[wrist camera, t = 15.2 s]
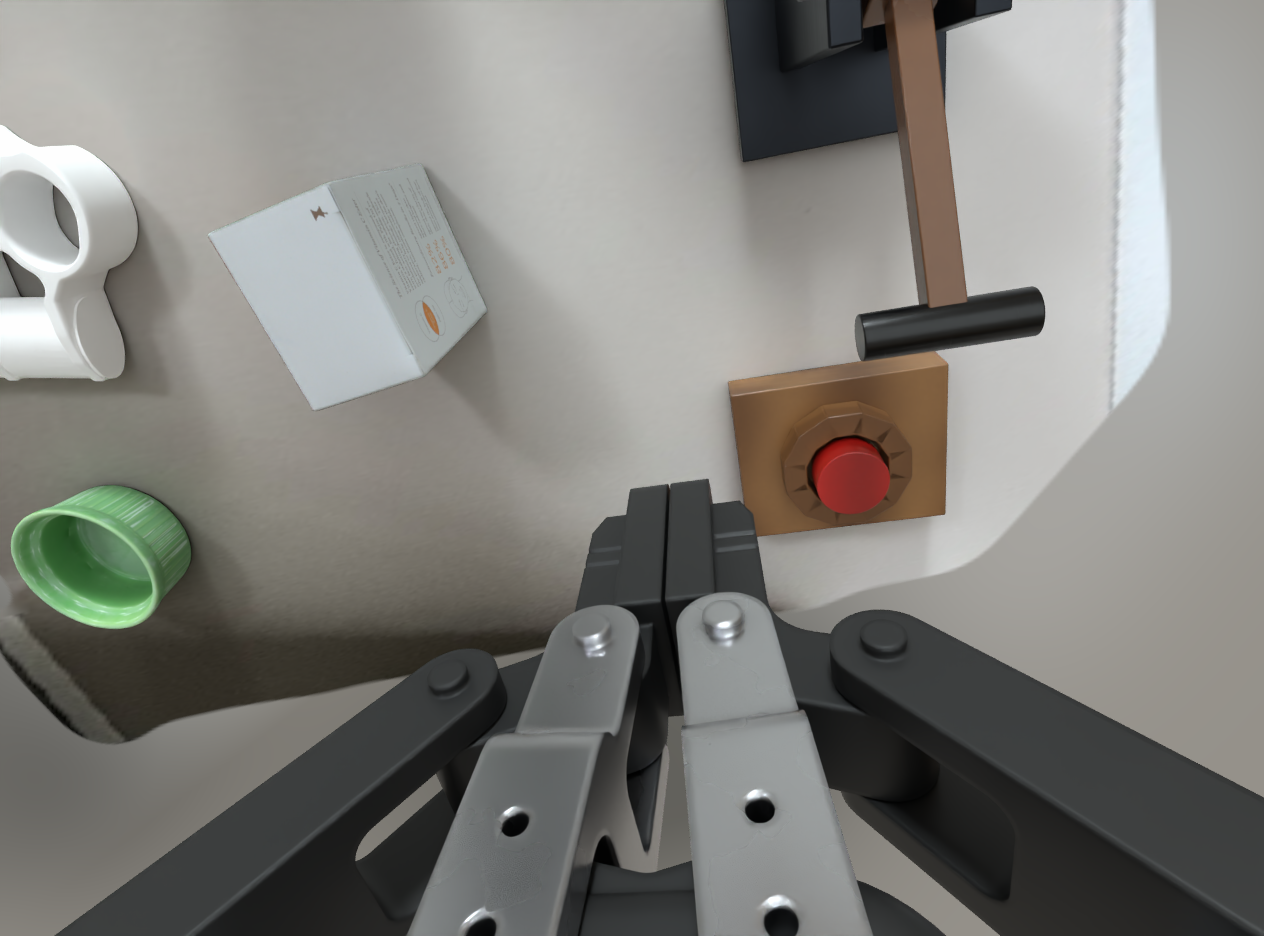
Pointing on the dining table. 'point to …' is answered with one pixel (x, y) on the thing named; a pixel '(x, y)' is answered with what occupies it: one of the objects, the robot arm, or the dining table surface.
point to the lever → (933, 211)
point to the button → (850, 476)
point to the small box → (354, 282)
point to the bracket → (820, 70)
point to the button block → (835, 409)
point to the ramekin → (102, 555)
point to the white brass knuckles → (60, 262)
